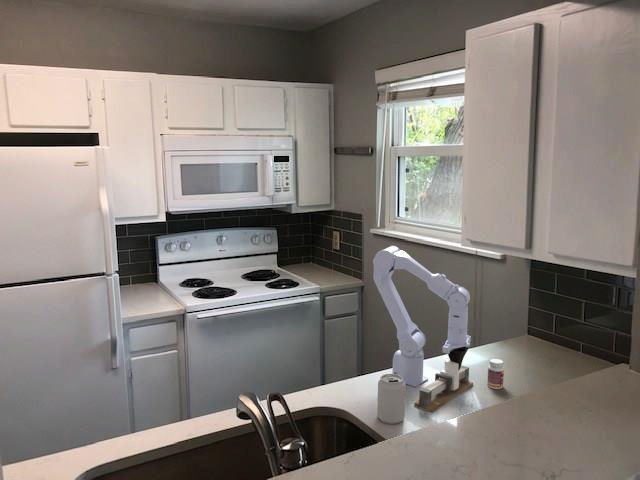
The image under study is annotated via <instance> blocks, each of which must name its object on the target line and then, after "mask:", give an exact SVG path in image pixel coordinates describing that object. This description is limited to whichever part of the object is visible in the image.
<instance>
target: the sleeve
mask: <svg viewBox="0 0 640 480" xmlns="http://www.w3.org/2000/svg"><path fill="white" fill-rule="evenodd" d="M458 365H459V364H458V363H455V362H451V361H450V360H447V359H446V360H444V368H443V369H441V370H440V373H439V374H441V375H446V376H449V377H452V385H451V390H453V391H454V390H456V389H457V388H459V372H458Z"/></svg>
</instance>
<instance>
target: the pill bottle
mask: <svg viewBox="0 0 640 480" xmlns="http://www.w3.org/2000/svg"><path fill="white" fill-rule="evenodd" d="M504 372H505V367H504V361H503V360H502V359H498V358H491V359H490V360H489V365H488V368H487V381H486V382H487V383H486V384H487V387H488V388H490V389H494V390H500V389H503V387H504V376H505V373H504Z"/></svg>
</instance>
